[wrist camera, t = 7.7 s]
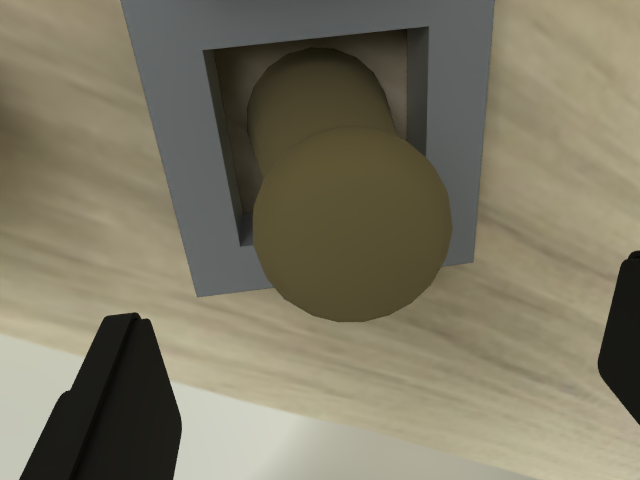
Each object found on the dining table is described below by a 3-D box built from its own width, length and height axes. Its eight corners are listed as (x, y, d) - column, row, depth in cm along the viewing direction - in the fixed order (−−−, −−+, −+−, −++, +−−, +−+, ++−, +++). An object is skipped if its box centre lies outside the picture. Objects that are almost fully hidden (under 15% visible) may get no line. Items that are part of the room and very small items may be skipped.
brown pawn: (390, 179, 23) (480, 341, 13) (257, 196, 23) (254, 373, 13) (386, 38, 20) (500, 120, 10) (233, 56, 20) (207, 155, 10)
